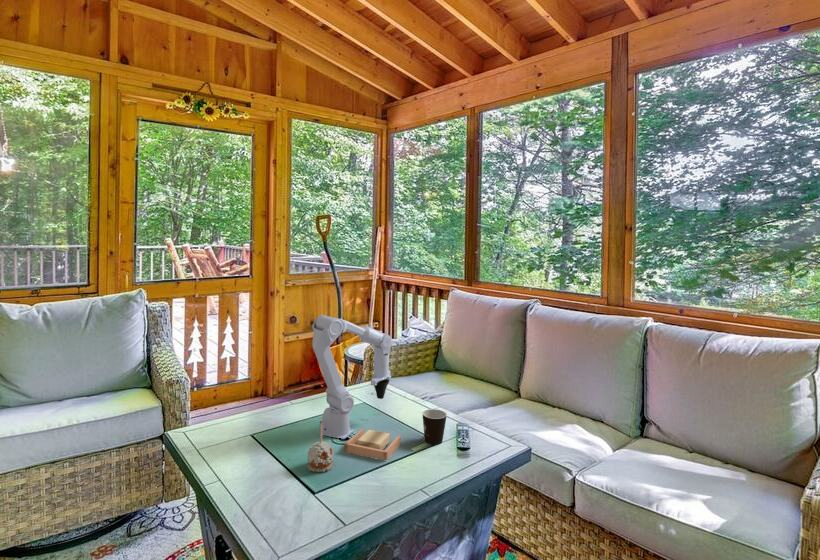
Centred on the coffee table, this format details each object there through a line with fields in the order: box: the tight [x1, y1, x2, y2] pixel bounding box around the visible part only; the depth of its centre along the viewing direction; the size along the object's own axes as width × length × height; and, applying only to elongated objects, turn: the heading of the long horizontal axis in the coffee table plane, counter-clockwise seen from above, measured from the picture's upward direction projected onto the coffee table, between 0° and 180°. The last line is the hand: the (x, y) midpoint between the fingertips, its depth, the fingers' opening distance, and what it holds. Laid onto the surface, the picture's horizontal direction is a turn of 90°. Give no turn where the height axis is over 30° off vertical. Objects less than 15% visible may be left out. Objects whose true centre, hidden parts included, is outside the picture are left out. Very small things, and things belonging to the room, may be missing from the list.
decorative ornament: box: [307, 419, 335, 473], centre depth 143 cm, size 8×8×15 cm
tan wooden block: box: [357, 429, 391, 450], centre depth 157 cm, size 8×9×4 cm
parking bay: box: [344, 428, 402, 461], centre depth 157 cm, size 15×13×3 cm
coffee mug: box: [422, 408, 448, 446], centre depth 165 cm, size 12×9×10 cm
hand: (380, 398), depth 178 cm, fingers closed
